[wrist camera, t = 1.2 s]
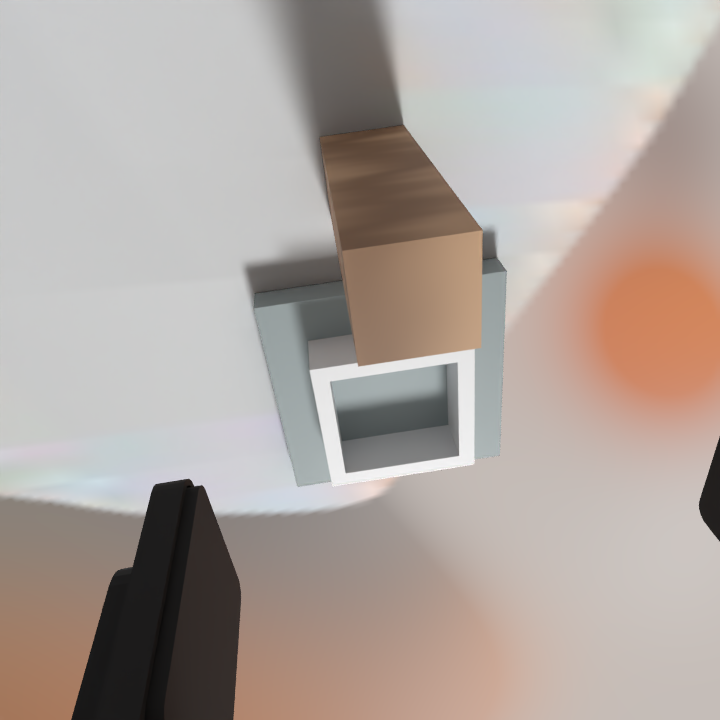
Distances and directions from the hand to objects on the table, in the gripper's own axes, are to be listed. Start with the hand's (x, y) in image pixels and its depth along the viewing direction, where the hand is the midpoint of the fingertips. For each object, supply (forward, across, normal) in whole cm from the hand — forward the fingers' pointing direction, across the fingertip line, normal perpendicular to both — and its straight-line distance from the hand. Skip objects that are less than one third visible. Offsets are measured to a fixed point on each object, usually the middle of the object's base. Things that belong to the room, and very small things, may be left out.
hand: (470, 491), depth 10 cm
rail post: (+19, 0, 0) cm, 19 cm away
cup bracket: (+19, 0, +11) cm, 21 cm away
